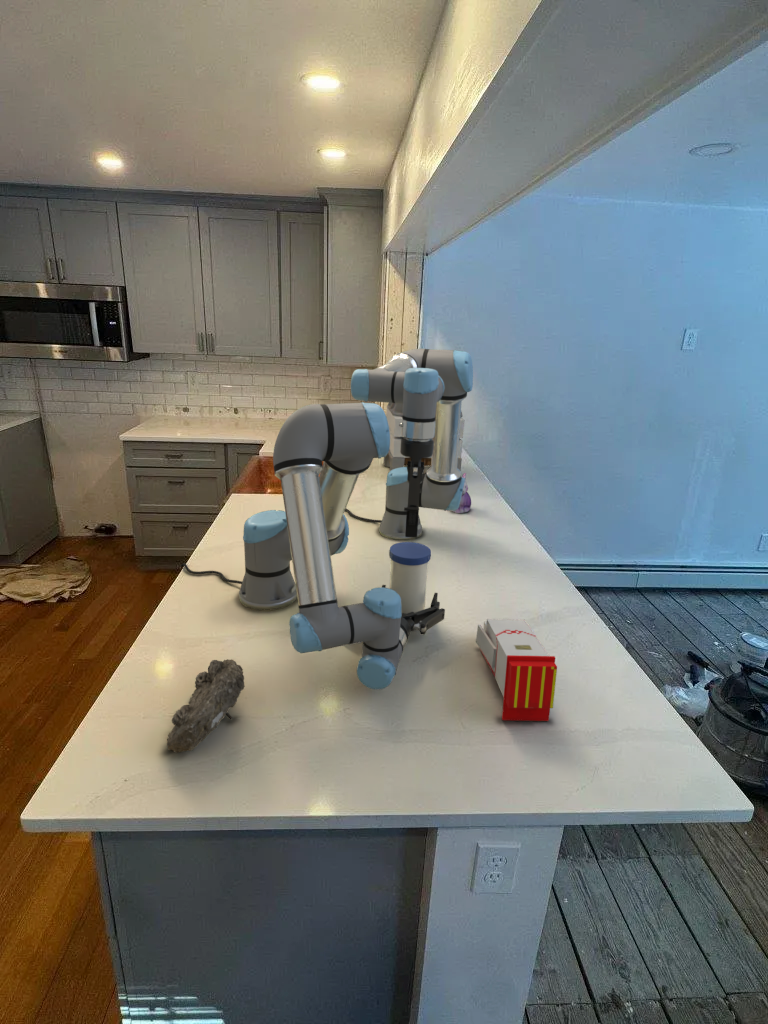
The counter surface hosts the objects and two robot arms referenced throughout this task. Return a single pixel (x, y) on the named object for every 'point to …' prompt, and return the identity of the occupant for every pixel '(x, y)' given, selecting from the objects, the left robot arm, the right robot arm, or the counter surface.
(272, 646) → the counter surface
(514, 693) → the toy
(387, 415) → the light grey boxy frame
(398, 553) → the lid
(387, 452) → the left robot arm
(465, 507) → the figurine
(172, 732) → the fossil
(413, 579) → the jar
